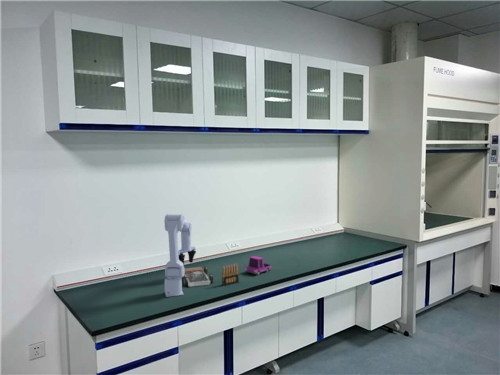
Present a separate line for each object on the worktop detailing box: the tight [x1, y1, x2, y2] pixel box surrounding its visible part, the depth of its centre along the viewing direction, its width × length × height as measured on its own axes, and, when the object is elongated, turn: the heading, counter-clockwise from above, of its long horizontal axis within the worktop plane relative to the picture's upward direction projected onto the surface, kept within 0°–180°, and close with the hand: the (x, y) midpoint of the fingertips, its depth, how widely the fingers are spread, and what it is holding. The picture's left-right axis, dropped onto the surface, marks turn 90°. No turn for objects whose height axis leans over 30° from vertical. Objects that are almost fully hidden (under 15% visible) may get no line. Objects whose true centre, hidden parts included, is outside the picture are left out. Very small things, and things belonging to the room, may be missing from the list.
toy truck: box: [244, 255, 272, 276], centre depth 264 cm, size 11×16×10 cm
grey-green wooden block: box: [192, 271, 202, 282], centre depth 246 cm, size 4×5×5 cm
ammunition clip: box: [221, 262, 240, 287], centre depth 241 cm, size 11×2×12 cm, turn 125°
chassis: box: [183, 266, 214, 288], centre depth 250 cm, size 17×24×5 cm
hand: (186, 263), depth 251 cm, fingers open, 7 cm apart
